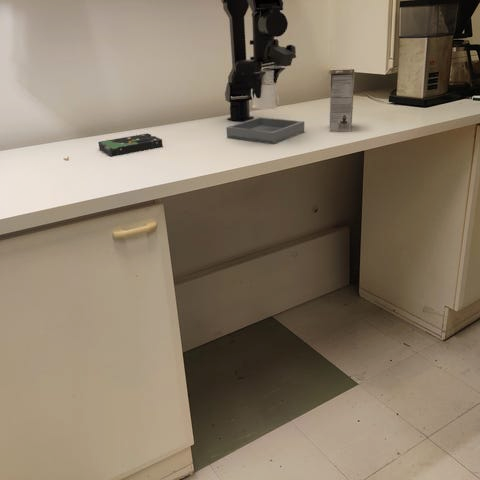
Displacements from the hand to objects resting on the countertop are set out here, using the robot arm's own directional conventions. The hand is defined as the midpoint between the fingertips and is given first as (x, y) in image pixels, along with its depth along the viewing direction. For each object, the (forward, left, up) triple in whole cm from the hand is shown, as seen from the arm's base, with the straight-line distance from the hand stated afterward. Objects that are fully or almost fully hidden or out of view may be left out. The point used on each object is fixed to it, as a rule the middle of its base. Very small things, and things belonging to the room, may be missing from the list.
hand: (264, 96), depth 134 cm
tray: (0, 0, -11) cm, 11 cm away
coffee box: (-17, +15, -11) cm, 25 cm away
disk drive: (+30, -24, -12) cm, 40 cm away
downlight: (0, 0, -3) cm, 3 cm away
